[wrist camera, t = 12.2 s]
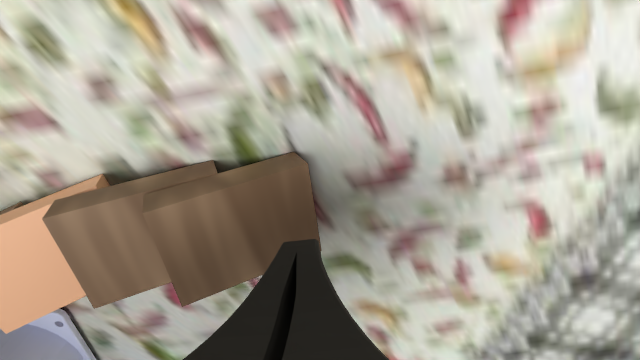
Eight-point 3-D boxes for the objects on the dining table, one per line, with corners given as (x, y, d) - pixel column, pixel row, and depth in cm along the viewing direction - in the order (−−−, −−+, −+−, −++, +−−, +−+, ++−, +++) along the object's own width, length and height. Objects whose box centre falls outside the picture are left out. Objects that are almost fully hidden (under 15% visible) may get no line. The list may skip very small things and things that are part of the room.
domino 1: (95, 185, 16) (-78, 256, 14) (150, 265, 18) (5, 333, 16) (102, 173, 17) (-53, 236, 16) (151, 248, 20) (20, 309, 18)
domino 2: (217, 172, 16) (42, 218, 14) (241, 258, 18) (94, 308, 16) (213, 160, 17) (55, 199, 15) (236, 240, 19) (100, 284, 17)
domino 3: (307, 163, 15) (142, 213, 13) (321, 251, 18) (182, 306, 15) (293, 152, 17) (143, 195, 15) (307, 234, 19) (179, 282, 17)
